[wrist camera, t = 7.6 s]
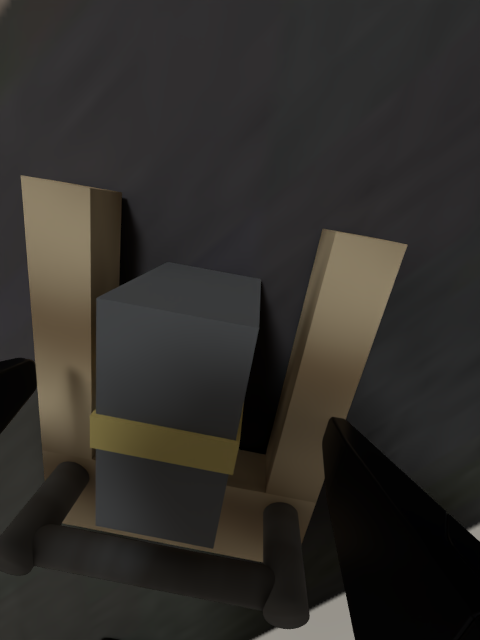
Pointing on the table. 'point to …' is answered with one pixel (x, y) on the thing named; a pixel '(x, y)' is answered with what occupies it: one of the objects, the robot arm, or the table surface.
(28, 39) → the table surface
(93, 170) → the table surface
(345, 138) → the table surface
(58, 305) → the wooden u-shaped holder
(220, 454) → the banded grey block
